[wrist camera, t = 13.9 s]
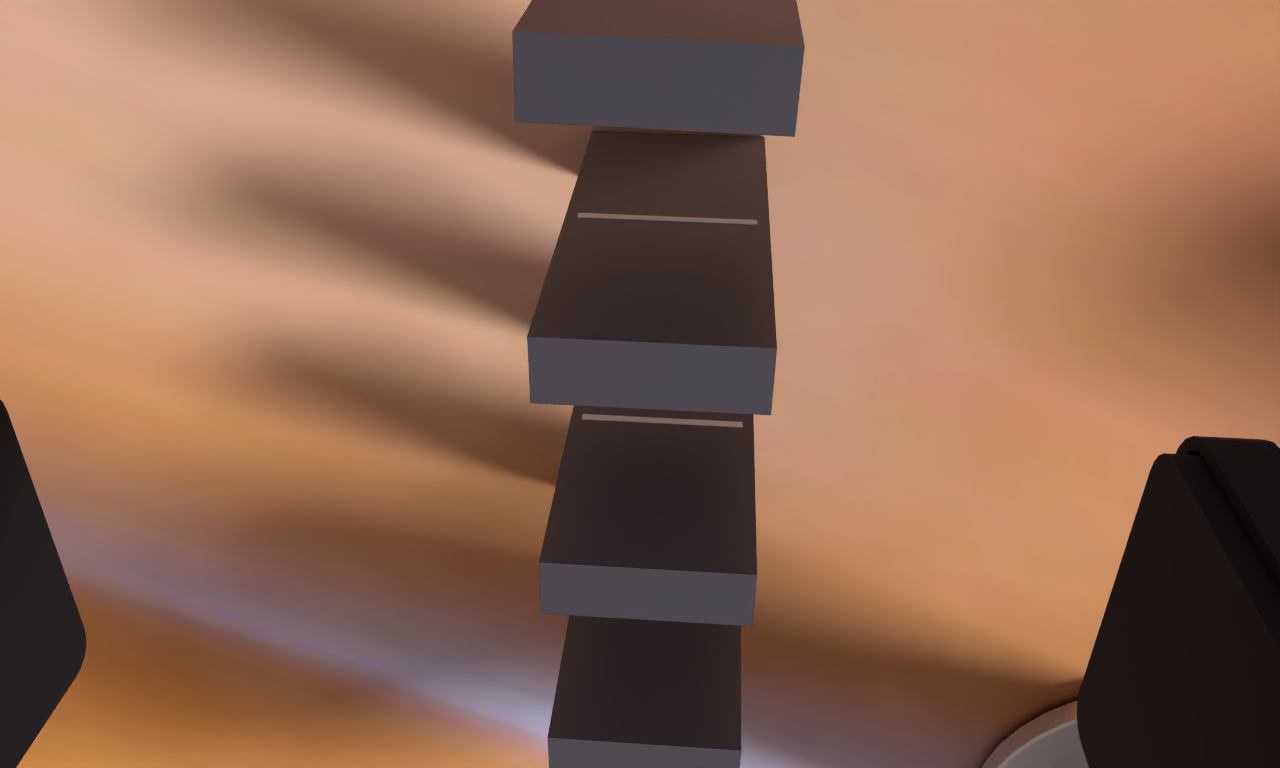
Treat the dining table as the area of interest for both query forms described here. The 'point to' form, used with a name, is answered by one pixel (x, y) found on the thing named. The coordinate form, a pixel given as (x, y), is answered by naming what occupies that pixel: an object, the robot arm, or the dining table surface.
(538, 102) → the domino
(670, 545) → the domino
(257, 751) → the dining table surface
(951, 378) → the dining table surface
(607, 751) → the domino
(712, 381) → the domino
